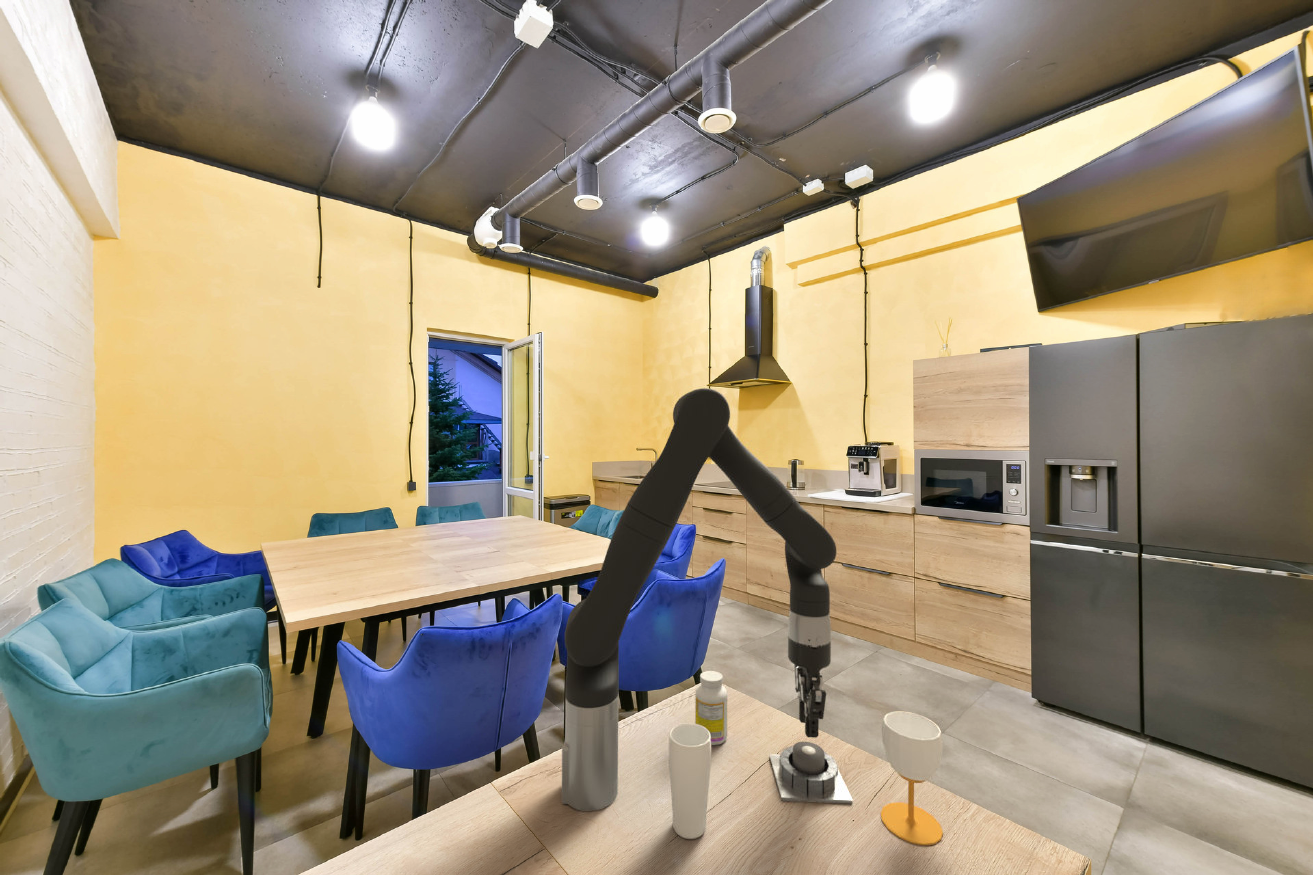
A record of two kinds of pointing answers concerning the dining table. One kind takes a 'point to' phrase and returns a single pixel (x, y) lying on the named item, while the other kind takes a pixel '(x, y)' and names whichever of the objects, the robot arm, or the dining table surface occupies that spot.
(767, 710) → the dining table surface
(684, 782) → the drinking glass
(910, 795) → the cup
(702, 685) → the supplement bottle
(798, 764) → the cap
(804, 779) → the segmented ring on plate
